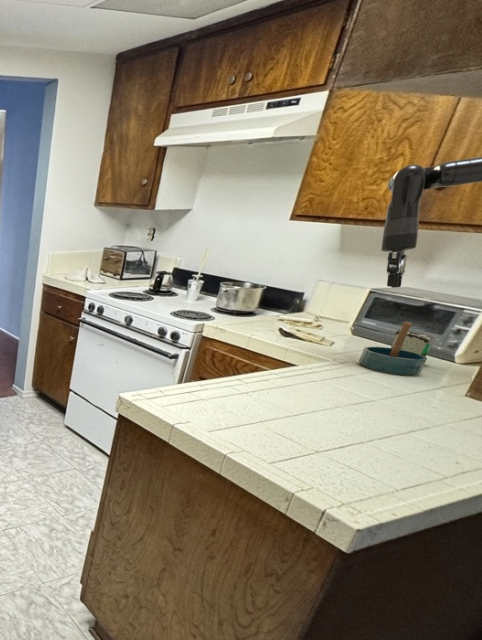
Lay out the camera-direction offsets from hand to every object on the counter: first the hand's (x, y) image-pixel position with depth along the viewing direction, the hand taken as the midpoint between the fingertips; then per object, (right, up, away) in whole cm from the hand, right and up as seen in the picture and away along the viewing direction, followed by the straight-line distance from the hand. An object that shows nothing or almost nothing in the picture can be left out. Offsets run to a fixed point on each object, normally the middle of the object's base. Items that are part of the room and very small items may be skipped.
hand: (393, 286), depth 149 cm
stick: (+3, -25, +5) cm, 26 cm away
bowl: (+3, -26, +5) cm, 27 cm away
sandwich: (+19, -23, +13) cm, 33 cm away
